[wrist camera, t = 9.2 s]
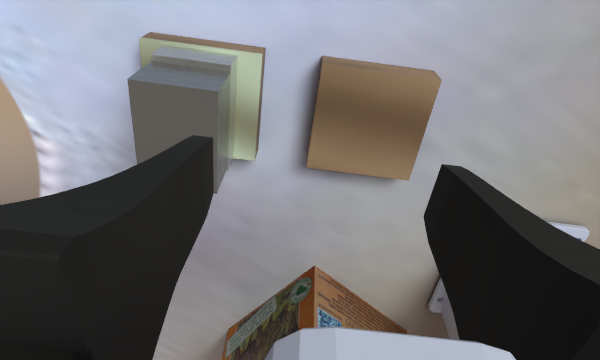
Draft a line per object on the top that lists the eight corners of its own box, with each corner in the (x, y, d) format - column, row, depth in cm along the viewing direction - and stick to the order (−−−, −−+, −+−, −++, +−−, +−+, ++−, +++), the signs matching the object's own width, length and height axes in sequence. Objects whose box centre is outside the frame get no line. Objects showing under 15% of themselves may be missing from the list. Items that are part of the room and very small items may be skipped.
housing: (233, 154, 22) (216, 198, 18) (170, 146, 22) (140, 189, 18) (237, 55, 19) (218, 84, 15) (164, 44, 19) (126, 71, 15)
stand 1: (257, 148, 23) (254, 161, 22) (158, 136, 23) (149, 147, 22) (265, 47, 20) (262, 55, 19) (150, 32, 20) (139, 38, 19)
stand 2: (403, 167, 24) (408, 180, 22) (307, 155, 24) (306, 167, 22) (434, 70, 21) (441, 79, 19) (322, 55, 20) (322, 63, 19)
